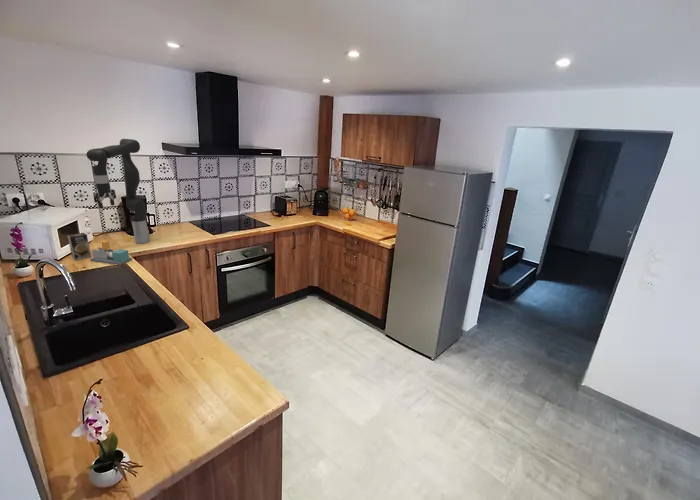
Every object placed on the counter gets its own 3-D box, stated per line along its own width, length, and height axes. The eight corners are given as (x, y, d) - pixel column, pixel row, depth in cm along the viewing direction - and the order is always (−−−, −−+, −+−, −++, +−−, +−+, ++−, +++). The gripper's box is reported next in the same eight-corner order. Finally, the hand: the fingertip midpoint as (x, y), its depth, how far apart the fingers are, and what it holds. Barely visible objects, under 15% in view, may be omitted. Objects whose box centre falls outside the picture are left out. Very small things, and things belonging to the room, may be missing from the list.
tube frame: (90, 261, 224) (88, 250, 221) (104, 255, 233) (101, 245, 231) (119, 265, 220) (117, 254, 217) (131, 259, 229) (130, 249, 227)
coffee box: (75, 260, 223) (70, 237, 218) (72, 258, 227) (66, 235, 221) (92, 257, 230) (87, 234, 225) (88, 254, 234) (83, 232, 228)
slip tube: (103, 257, 225) (100, 242, 221) (108, 255, 228) (105, 240, 224) (120, 259, 223) (117, 244, 219) (124, 257, 226) (121, 242, 222)
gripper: (106, 179, 226) (111, 204, 231) (87, 183, 212) (92, 208, 218) (116, 180, 224) (121, 205, 230) (97, 184, 211) (102, 209, 217)
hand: (107, 206), depth 224 cm, fingers open, 8 cm apart
